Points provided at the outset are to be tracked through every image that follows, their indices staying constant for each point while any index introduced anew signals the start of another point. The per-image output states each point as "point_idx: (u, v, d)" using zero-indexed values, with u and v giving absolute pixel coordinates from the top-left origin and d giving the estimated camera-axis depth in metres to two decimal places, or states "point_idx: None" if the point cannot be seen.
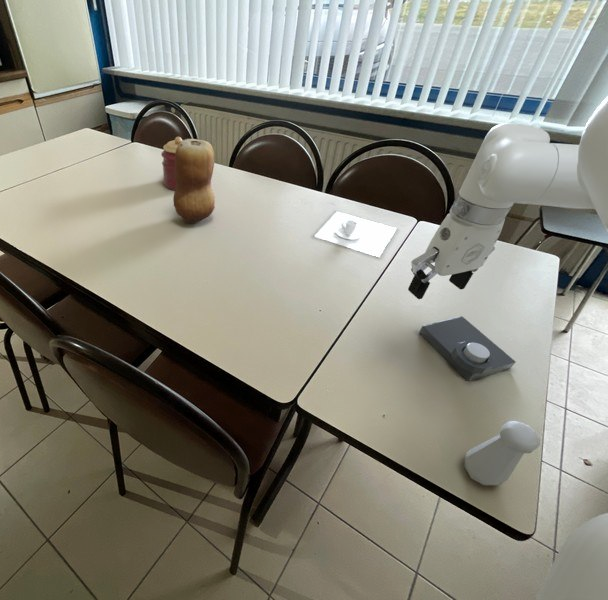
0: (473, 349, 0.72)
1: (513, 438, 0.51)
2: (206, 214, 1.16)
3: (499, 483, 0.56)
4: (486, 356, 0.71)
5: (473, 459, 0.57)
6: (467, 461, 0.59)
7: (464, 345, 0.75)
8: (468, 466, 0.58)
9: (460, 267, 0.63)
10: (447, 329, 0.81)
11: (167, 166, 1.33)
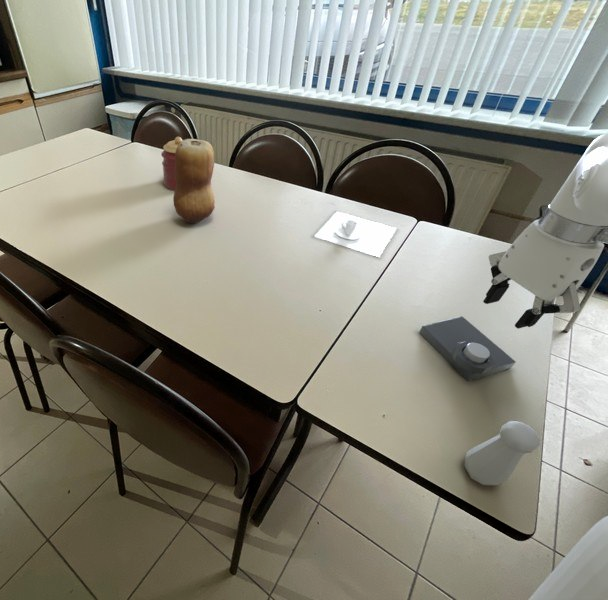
0: (473, 349, 0.72)
1: (513, 438, 0.51)
2: (206, 214, 1.16)
3: (499, 483, 0.56)
4: (486, 356, 0.71)
5: (473, 459, 0.57)
6: (467, 461, 0.59)
7: (464, 345, 0.75)
8: (468, 466, 0.58)
9: None
10: (447, 329, 0.81)
11: (167, 166, 1.33)
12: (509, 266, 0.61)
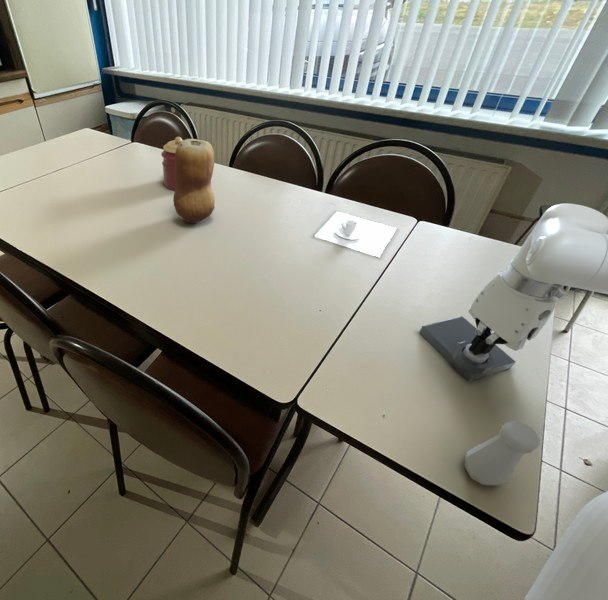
0: None
1: (513, 438, 0.51)
2: (206, 214, 1.16)
3: (499, 483, 0.56)
4: (485, 357, 0.71)
5: (473, 459, 0.57)
6: (467, 461, 0.59)
7: (464, 345, 0.75)
8: (468, 466, 0.58)
9: None
10: (447, 329, 0.81)
11: (167, 166, 1.33)
12: (479, 310, 0.68)
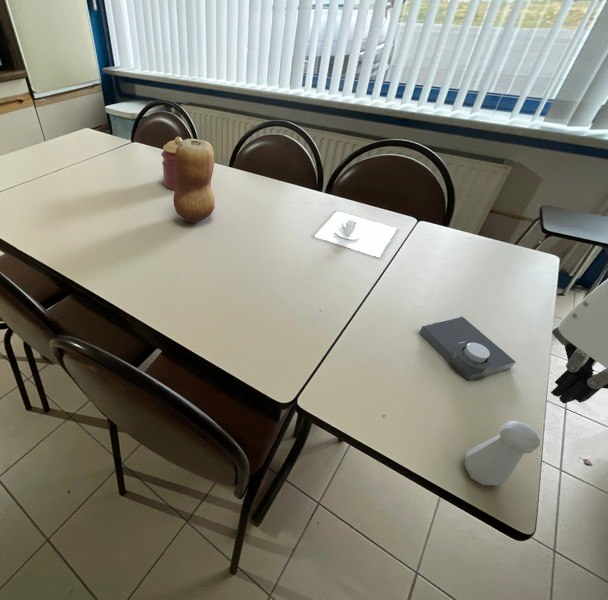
0: (473, 349, 0.72)
1: (513, 438, 0.51)
2: (206, 214, 1.16)
3: (499, 483, 0.56)
4: (486, 356, 0.71)
5: (473, 459, 0.57)
6: (467, 461, 0.59)
7: (464, 345, 0.75)
8: (468, 466, 0.58)
9: None
10: (447, 329, 0.81)
11: (167, 166, 1.33)
12: (578, 331, 0.41)
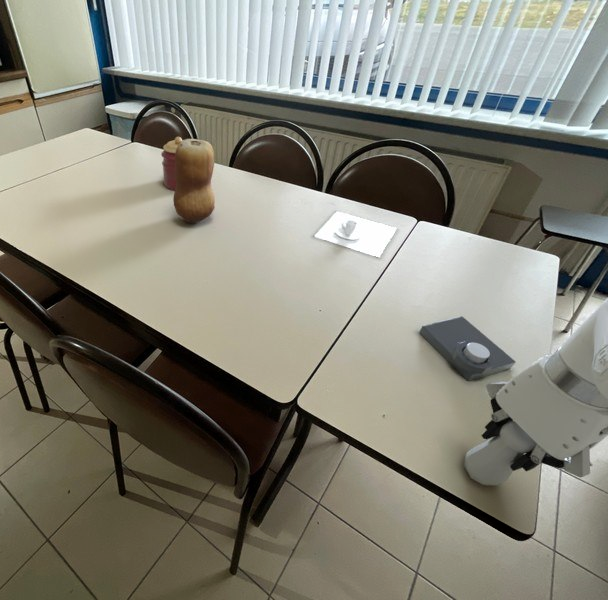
0: (473, 349, 0.72)
1: (513, 438, 0.51)
2: (206, 214, 1.16)
3: (499, 483, 0.56)
4: (486, 356, 0.71)
5: (473, 459, 0.57)
6: (467, 461, 0.59)
7: (464, 345, 0.75)
8: (468, 466, 0.58)
9: None
10: (447, 329, 0.81)
11: (167, 166, 1.33)
12: (508, 403, 0.50)
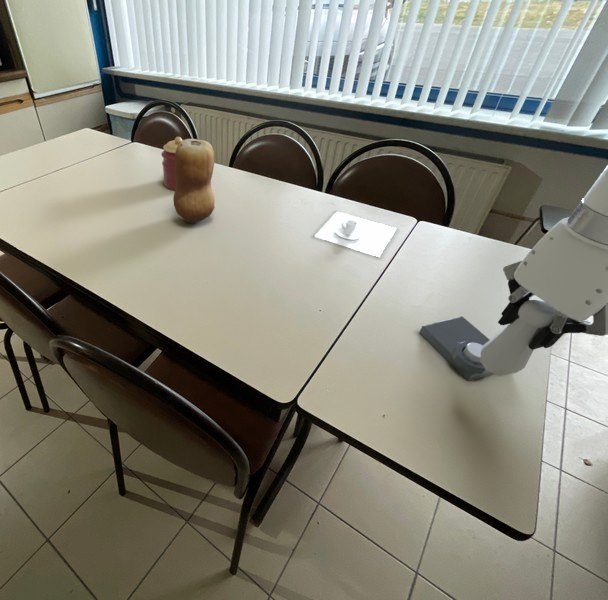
0: (473, 349, 0.72)
1: (532, 312, 0.50)
2: (206, 214, 1.16)
3: (516, 370, 0.55)
4: None
5: (489, 348, 0.57)
6: (483, 352, 0.58)
7: (464, 345, 0.75)
8: (484, 357, 0.57)
9: None
10: (447, 329, 0.81)
11: (167, 166, 1.33)
12: (528, 276, 0.49)
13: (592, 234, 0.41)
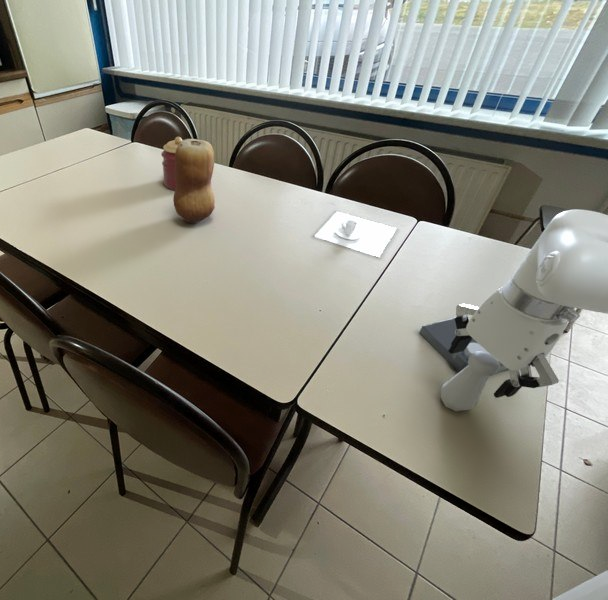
0: (473, 349, 0.72)
1: (477, 363, 0.61)
2: (206, 214, 1.16)
3: (468, 407, 0.66)
4: None
5: (447, 388, 0.67)
6: (442, 391, 0.68)
7: None
8: (443, 395, 0.68)
9: None
10: (447, 329, 0.81)
11: (167, 166, 1.33)
12: (475, 330, 0.60)
13: (518, 306, 0.51)
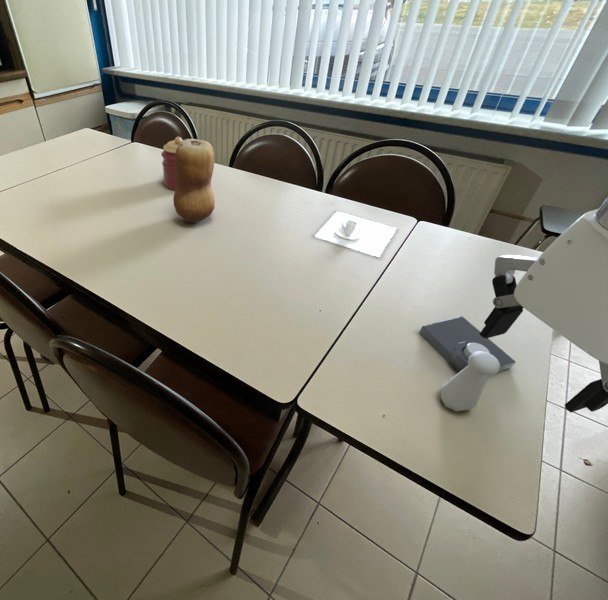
0: (473, 349, 0.72)
1: (477, 363, 0.61)
2: (206, 214, 1.16)
3: (468, 407, 0.66)
4: None
5: (447, 388, 0.67)
6: (442, 391, 0.68)
7: (464, 345, 0.75)
8: (443, 395, 0.68)
9: None
10: (447, 329, 0.81)
11: (167, 166, 1.33)
12: (534, 295, 0.34)
13: None
